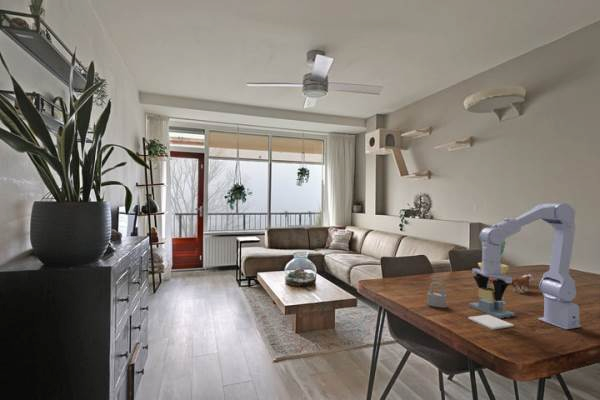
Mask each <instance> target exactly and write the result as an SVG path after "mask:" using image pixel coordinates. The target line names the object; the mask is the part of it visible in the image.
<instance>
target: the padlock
mask: <svg viewBox="0 0 600 400" xmlns="http://www.w3.org/2000/svg"><path fill="white" fill-rule="evenodd" d="M434 286H439V287H440V293H439V292H438V293H437V292H433V291H434ZM426 302H427V304H426V305H427V306H430V307H435V308H443V309H446V308H447V295H446V294H445V287H444V285H443V284H442V283H441V282H438V281H434V282H432V283H430V285H429V291H428V292H427V301H426Z"/></svg>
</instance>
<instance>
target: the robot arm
mask: <svg viewBox="0 0 600 400" xmlns="http://www.w3.org/2000/svg"><path fill="white" fill-rule="evenodd" d="M575 217H576V210H575V209H574V208H573V207H572V206H571V204H570V203H569V204H568V203H566V202H565V203H563V202H562V203H549V202H548V203H547V202H543V203H539V204H538V205H537V204H536V205H535V206H534V207H533V208H531V209H530V210H528V211H526V212H525V213H523V214H521V215H519V216H517V217H516V218H513V217H505V218H503V219H502V221H500V222H498V223H497V224H496V223H493V224H492V226H491V227H484V228H483V229H482V230H481V231H480V233H479V234H478V239H479V241H481V246H482V251H481V255H482V256H481V262H482V269H481V268H476V267H475V268H472V269H471V271H472V272H471V274H472V275H474V276H473V279H474V281H475V283H476V284H477V287H478V288H482V287H487V286H488V284H489V278H492V279H496V280H497V281H495V280H492V284H493V288H494V289H495V300H496V301H501V300H502V296H503V297H504V295H505V294H504V293H505V291H506V289H507V288H508V286H509V285H510V284H512V283H513V277H511V276H509V275H506V274H505V275H504V274H501V273H500V265H501V264H502V263H501V259H502V258H501V257H502V255H501V244H502V243H503V242H504V241H505V242H506V239H507V238H510V237H511V236H514V235H515V234H517V233H519V232H521V229H522V227H524V226H526V225H529V224H531V223H533V222H534V223H535V221H539V220H542V221H544V222H546V223H547V224H549V225H550V226H551V227H552V228H553V229H554V234H553V242H552V249H551V255H550V256H551V257H550V263H549V269H548V271H546V272H544V273H543V274H542V278H541V279H540V281H539V284H538V288H539V290H540V292H541V293H542V296H543V298H544V300H543V301H544V302H543V308H544V309H543V317H538V318H537V320H538V321H542V322H544V323H547V324H549V325H553V326H556V327H558V328H561V329H564V330H570V329H571V330H572V329H576V328H582V327H581V324H580V306H579V304H577V303H575V302H572V301H573V300H574V299H575V297H576V296H577V289H576V281H575V279H574V278H572V276H571V275H570V266H571V261H572V252H573V246H574V240H575V232H576V223H575Z"/></svg>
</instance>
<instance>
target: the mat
mask: <svg viewBox="0 0 600 400" xmlns="http://www.w3.org/2000/svg"><path fill="white" fill-rule="evenodd" d="M468 320H470V321H472V322H475V323H476V324H479V325H481V326H484V327H486V328H488V329H490V330H491V331H492V330H497V329H498V330H499V329H505V328H511V327H514V324H513V323H511V322H508V321H505V320H502V318H497V317H495V316H492V315H490V314H482V315H475V316H468Z"/></svg>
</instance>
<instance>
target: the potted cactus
mask: <svg viewBox="0 0 600 400" xmlns="http://www.w3.org/2000/svg"><path fill="white" fill-rule="evenodd" d="M506 244H507V243H506V240H505V241H504V242H503V243H502V244H501V256H502V255H503V253H504V251H505V246H506ZM477 264H478V268H479V269H482V261H481V262H477ZM509 268H510V266H509V265H506V264H503V263H501V265H500V273H501V274H504V275H506V273H507V271H508V270H509ZM489 279H490V281H495V280H496V279H492V278H489Z"/></svg>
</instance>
